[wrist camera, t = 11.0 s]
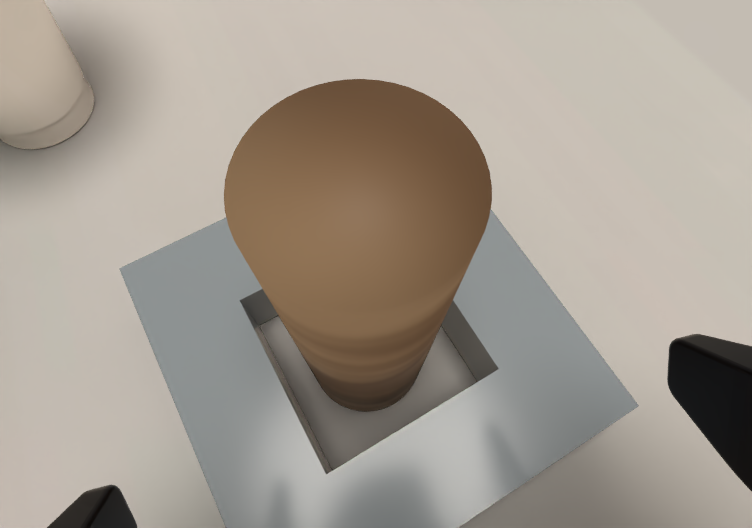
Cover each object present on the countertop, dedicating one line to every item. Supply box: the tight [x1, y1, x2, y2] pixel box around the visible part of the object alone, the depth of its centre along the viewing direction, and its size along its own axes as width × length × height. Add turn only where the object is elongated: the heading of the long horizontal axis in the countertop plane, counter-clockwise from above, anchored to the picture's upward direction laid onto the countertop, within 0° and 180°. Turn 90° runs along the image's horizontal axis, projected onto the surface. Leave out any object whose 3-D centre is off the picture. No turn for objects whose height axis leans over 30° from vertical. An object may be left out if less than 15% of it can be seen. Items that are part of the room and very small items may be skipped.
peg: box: [224, 79, 492, 411], centre depth 13 cm, size 4×4×12 cm
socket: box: [119, 209, 638, 528], centre depth 17 cm, size 12×12×3 cm
